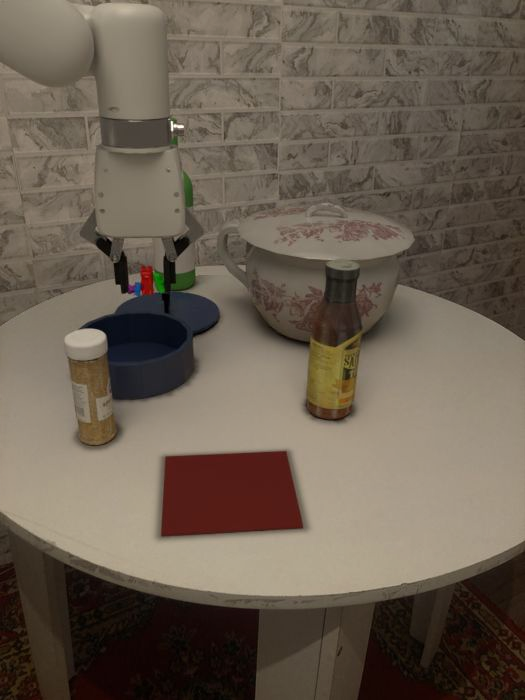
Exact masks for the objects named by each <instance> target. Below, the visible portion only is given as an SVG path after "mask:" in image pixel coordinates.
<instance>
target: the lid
mask: <svg viewBox="0 0 525 700" xmlns="http://www.w3.org/2000/svg"><path fill="white" fill-rule="evenodd" d="M163 285H164V283H163ZM126 311H153V312H159V313H166V314H170V315H172V316H175V317H177V318H179V319H182V320H184V321H185V322H186V323H187V324H188V325H189V326H190V327H191V328H192V330H193V335H195V334H198V333H200V332H203V331H205V330H207V329H210V328H211V327H212V326H213V325H215V324H216V323H217V321H218V320H219V318H220V308H219V307H218V305H217V304H216V302H214V301H213V300H212V299H210V298H208V297H206V296H203V295H200V294H196V293H191V292H184V291H171V293H166V292H163V293H159V292H158V291H157V292H154V293H153V295H149V294H146V295H142V294H140V296H135V297H132V298H130V299H127V300H125V301H124V302H122V303H121V304H120V305H118V307H116V309H115V310H114V314H115V313H121V312H126Z"/></svg>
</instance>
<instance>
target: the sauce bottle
mask: <svg viewBox="0 0 525 700" xmlns="http://www.w3.org/2000/svg"><path fill="white" fill-rule="evenodd" d="M325 275H326V285H325V292H324V298H325V299H324V300H323V301H322V303H321V304H320V305H319V306H318V307H317V309H316V311H315V313H314V317H313V327H312V333H311V339H310V342H309V352H308V365H307V367H308V368H307V379H306V391H305V392H306V393H305V396H306V402H305V403H306V407H307V410H308V411H309V413H311V414H312V415H314V416H315V417H317V418H321V419H326V420H339V419H342V418H344V417H346V416H348V415H349V414H350V412H352V408H353V403H354V401H355V395H356V394H355V393H356V386H357V378H358V369H359V361H360V355H361V344H362V336H363V334H362V328H363V327H362V323H361V320H360V316H359V312H358V308H357V304H356V287H357V279H358V278H359V275H360V265H359V264H357V263H356V262H353V261H350V260H343V259H339V260H331V261H328V262H327V263H326V266H325Z"/></svg>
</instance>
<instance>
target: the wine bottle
mask: <svg viewBox="0 0 525 700" xmlns="http://www.w3.org/2000/svg"><path fill="white" fill-rule="evenodd" d="M170 120H173V122H177V123H178V119H177V118H175V117H170ZM178 139H179V136H177V137H174V140H172V139H171V144H173V145H177V146H178V147H179V140H178ZM183 179H184V191H185V205H186V206H187V208H188V209H189V210H190V211H191V213H192V214H193V215H194V214H195V211H194V209H195V207H194V188H193V183H192V180H191V178H190V176H189V175H188V173H186V171H184V170H183ZM194 216H195V215H194ZM188 230H189V228H188V227H187V225H186V224H185V230H184V232H183V233H182V234H181V235H183V234H185V233H186V232H187V231H188ZM181 235H179V236H176V237H174V240H175V241H176V240H177V239H178V238H179V237H180V236H181ZM151 241H152V255H153V256H152V257H153V268H154V269H153V272H154V273H158V274H159V275H160V276H161V278H162V280H164V270H163V257H164V256H165V249H164V246H163V243H162V240H161V238H151ZM195 242H196V241H195ZM195 242H193V243H191V244H190V245H189V246H188V247H187V248H186V249H185V250H184V251H183V252H182V253H181V254H180V255H179V256H178V257H177V260H176V261H175V267H176V284H171V291H180V290H181V291H182V290H186V289H188V288H191V287H192V286H193V285H194V284H195V282H196V246H195V245H196V243H195Z"/></svg>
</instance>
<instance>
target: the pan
mask: <svg viewBox="0 0 525 700" xmlns="http://www.w3.org/2000/svg"><path fill="white" fill-rule="evenodd" d="M80 329H97V330H100V331H102V332H104V333H105V334H106V337H107V345H108V351H107V361H108V368H109V376H110V383H111V391H112V400H113V399H114V400H141V399H149V398H152V397H156V396H161V395H164V394H167V393H169V392H172V391H174V390H175V389H178V388H179V387H180V386H182V385H184V384H185V383H186V382H187V381H188V380H189V379H190V377H191V376H192V374H193V372H194V369H195V366H194V363H195V362H194V361H195V360H194V334H193V330H192V328H191V327H190V326H189V325H188V324H187V323H186V322H185V321H184V320H182V319H179V318H177V317H175V316H172V315H170V314H166V313H159V312H153V311H126V312H121V313H115V312H114V313H111V314H106V315H103V316H100V317H97V318H95V319H92V320H89V321H87V322H85V323H84V324H83V325H82V326H80V327H79V328H78V329H77V330H80Z"/></svg>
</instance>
